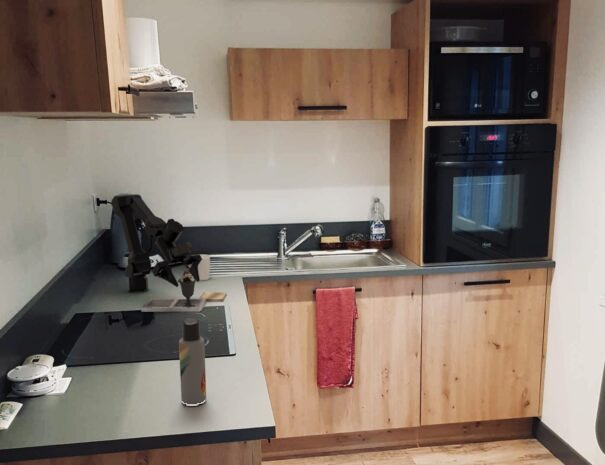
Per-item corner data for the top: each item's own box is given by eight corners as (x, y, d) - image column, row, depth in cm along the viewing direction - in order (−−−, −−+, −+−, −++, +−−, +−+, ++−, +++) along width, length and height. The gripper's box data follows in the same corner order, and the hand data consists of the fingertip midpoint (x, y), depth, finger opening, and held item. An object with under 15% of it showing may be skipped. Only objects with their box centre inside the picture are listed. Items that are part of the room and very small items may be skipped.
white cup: (212, 276, 241) (212, 254, 240) (207, 281, 234) (207, 258, 232) (195, 276, 242) (194, 254, 240) (190, 281, 234) (189, 258, 233)
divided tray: (141, 311, 193) (141, 307, 193) (150, 302, 204) (150, 298, 204) (200, 311, 193) (200, 307, 193) (206, 302, 204) (206, 298, 204)
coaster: (198, 301, 205) (198, 299, 205) (203, 294, 214) (203, 292, 214) (222, 301, 205) (222, 299, 205) (226, 294, 214) (226, 292, 213)
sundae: (187, 303, 203) (186, 263, 200) (201, 306, 200) (200, 265, 197) (175, 307, 197) (173, 267, 195) (189, 310, 194) (187, 269, 191)
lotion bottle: (208, 395, 130) (205, 315, 127) (204, 407, 125) (201, 323, 121) (183, 396, 130) (180, 315, 127) (179, 407, 124) (175, 323, 121)
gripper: (155, 239, 190) (175, 275, 185) (198, 232, 204) (218, 265, 199) (143, 258, 197) (163, 294, 192) (186, 250, 211) (205, 283, 205)
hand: (188, 283), depth 197 cm, fingers open, 9 cm apart
